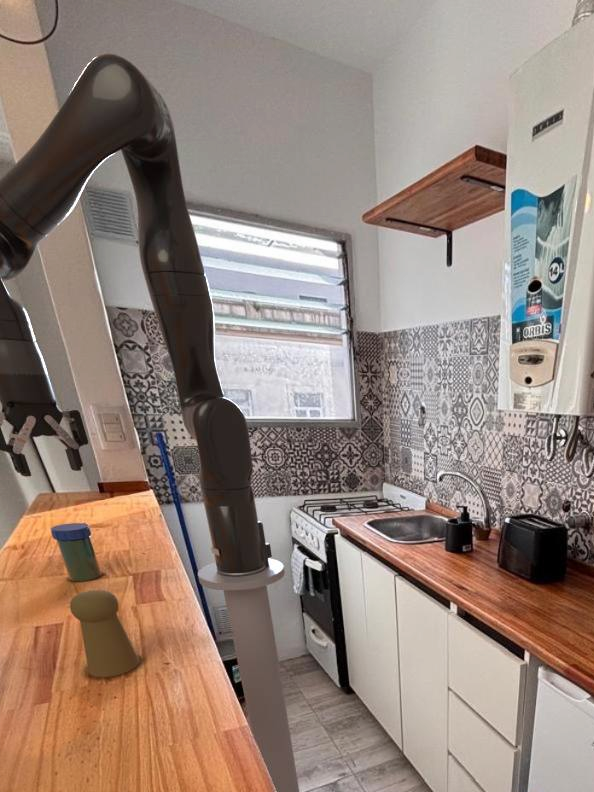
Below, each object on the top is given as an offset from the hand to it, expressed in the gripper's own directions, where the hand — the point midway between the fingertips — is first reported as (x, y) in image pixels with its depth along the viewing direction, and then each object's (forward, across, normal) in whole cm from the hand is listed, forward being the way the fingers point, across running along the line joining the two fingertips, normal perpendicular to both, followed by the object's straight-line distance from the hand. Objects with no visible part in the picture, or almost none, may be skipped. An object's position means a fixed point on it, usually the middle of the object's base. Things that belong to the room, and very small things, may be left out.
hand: (52, 473), depth 93 cm
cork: (+20, +17, +40) cm, 48 cm away
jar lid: (+10, 0, 0) cm, 10 cm away
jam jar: (+20, 0, 0) cm, 20 cm away
